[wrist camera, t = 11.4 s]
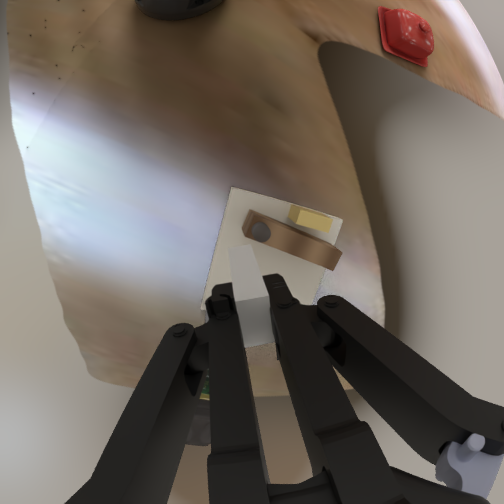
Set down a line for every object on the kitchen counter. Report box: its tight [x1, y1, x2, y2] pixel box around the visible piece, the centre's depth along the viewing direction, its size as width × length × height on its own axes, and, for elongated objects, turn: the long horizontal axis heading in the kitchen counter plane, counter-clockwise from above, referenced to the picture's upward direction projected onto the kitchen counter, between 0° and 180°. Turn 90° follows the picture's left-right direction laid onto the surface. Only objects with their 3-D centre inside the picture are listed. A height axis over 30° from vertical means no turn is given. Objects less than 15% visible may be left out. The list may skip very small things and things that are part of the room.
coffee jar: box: [185, 369, 211, 446], centre depth 40 cm, size 10×8×19 cm
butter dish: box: [378, 6, 434, 67], centre depth 29 cm, size 12×12×8 cm
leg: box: [242, 209, 342, 271], centre depth 38 cm, size 14×3×6 cm, turn 66°
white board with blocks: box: [201, 186, 343, 323], centre depth 40 cm, size 20×18×8 cm
